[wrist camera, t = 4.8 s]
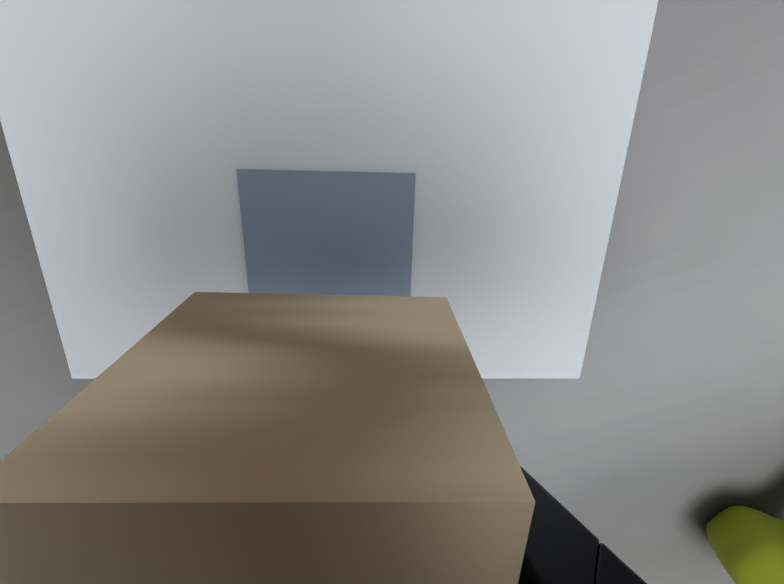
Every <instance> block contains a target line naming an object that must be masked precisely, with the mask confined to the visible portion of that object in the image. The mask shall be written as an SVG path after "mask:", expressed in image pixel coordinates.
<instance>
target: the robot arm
mask: <svg viewBox="0 0 784 584" xmlns="http://www.w3.org/2000/svg"><path fill="white" fill-rule="evenodd" d="M520 467H521V466H520ZM521 470H522V472H523V474H524V477H525V479H526V481H527V483H528V486H529V488H530V490H531V493H532V495H533V497H534V500H535V506H534V511H533V515H532V520H531V525H530V529H529V534H528V539H527V543H526V548H525V553H524V557H523V562H522V567H521V571H520V576H519V581H518V584H647V583H646V582H645V581H644V580H643V579H641V578H640V577H639V576H638V575H637V574H636V573H635V572H634V571H633V570H631V569H630V568H629V567H628V566H627V565H626V564H625V563H624V562H623V561H621V560H620V559H619V558H618V557H617V556H616V555H615V554H614V553H613V552H612V551H611V550H610V549H609V548H608V547H607V546H605V545H604V544H603V543H600V544H599V540H598V538H597V537H596V536H595V535H593V534H592V533H591V532H590V531H589V530H588V529H587V528H586V527H585V526H584V525H583V524H582V523H581V522H580V521H578V520H577V519H576V518H575V517H574V516H573V515H572V514H571V513H570V512H569V511H568V510H567V509H566V508H565V507H564V506H562V505H561V504H560V503H559V502H558V501H557V500H556V499H555V498H554V497H553V496H552V495H551V494H550V493H549V492H548V491H546V490H545V489H544V488H543V487H542V486H541V485H540V484H539V483H538V482H537V481H536V480H535V479H534V478H533V477H532V476H530V475H529V474H528V473H527V472H526V471H525V470H524V469H523V468H522V467H521Z"/></svg>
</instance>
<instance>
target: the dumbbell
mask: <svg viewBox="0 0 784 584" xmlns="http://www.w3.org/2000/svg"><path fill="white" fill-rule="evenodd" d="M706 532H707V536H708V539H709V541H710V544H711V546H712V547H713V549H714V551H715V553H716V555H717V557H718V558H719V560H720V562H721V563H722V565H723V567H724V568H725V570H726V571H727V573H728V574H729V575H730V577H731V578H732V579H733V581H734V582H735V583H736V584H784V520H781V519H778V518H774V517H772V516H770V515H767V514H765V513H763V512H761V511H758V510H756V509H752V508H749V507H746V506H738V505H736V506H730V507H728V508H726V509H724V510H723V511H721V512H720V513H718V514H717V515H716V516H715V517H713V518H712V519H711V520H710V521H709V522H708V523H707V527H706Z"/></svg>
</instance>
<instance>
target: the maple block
mask: <svg viewBox="0 0 784 584" xmlns="http://www.w3.org/2000/svg"><path fill="white" fill-rule="evenodd" d="M534 506H535V500H534V497H533V495H532V493H531V490H530V488H529V486H528V483H527V481H526V479H525V477H524V474H523V472H522V470H521V467H520V465H519V463H518V460H517V458H516V456H515V454H514V451H513V449H512V447H511V444H510V442H509V440H508V437H507V435H506V433H505V431H504V428H503V426H502V424H501V421H500V419H499V417H498V414H497V412H496V410H495V408H494V405H493V403H492V401H491V398H490V396H489V394H488V391H487V389H486V387H485V385H484V382H483V380H482V378H481V375H480V373H479V371H478V368H477V366H476V364H475V362H474V359H473V357H472V355H471V352H470V350H469V348H468V345H467V343H466V341H465V339H464V336H463V334H462V332H461V329H460V327H459V325H458V322H457V320H456V318H455V316H454V313H453V311H452V309H451V306H450V304H449V302H448V299H447V297H415V296H369V295H322V294H276V293H229V292H194V293H193V294H192V295H191V296H189V297H188V298H187V299H186V300H185V301H184V302H183V303H181V304H180V305H179V306H178V307H177V308H176V309H175V310H173V311H172V312H171V313H170V314H169V315H168V316H167V317H165V318H164V319H163V320H162V321H161V322H160V323H159V324H157V325H156V326H155V327H154V328H153V329H152V330H151V331H149V332H148V333H147V334H146V335H145V336H144V337H143V338H141V339H140V340H139V341H138V342H137V343H136V344H135V345H133V346H132V347H131V348H130V349H129V350H128V351H127V352H125V353H124V354H123V355H122V356H121V357H120V358H118V359H117V360H116V361H115V362H114V363H113V364H112V365H110V366H109V367H108V368H107V369H106V370H105V371H104V372H102V373H101V374H100V375H99V376H98V377H97V378H96V379H94V380H93V381H92V382H91V383H90V384H89V385H88V386H86V387H85V388H84V389H83V390H82V391H81V392H80V393H78V394H77V395H76V396H75V397H74V398H73V399H72V400H70V401H69V402H68V403H67V404H66V405H65V406H64V407H62V408H61V409H60V410H59V411H58V412H57V413H56V414H54V415H53V416H52V417H51V418H50V419H49V420H48V421H46V422H45V423H44V424H43V425H42V426H41V427H40V428H38V429H37V430H36V431H35V432H34V433H33V434H32V435H30V436H29V437H28V438H27V439H26V440H25V441H23V442H22V443H21V444H20V445H19V446H18V447H17V448H15V449H14V450H13V451H12V452H11V453H10V454H9V455H7V456H6V457H5V458H4V459H3V460H2V461H1V462H0V584H518V581H519V576H520V571H521V567H522V562H523V557H524V553H525V548H526V543H527V539H528V534H529V529H530V525H531V520H532V515H533V511H534Z"/></svg>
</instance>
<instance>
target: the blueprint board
mask: <svg viewBox="0 0 784 584" xmlns="http://www.w3.org/2000/svg"><path fill="white" fill-rule="evenodd" d="M657 5H658V0H0V121H1V125H2V128H3V132H4V135H5V139H6V143H7V146H8V150H9V153H10V157H11V161H12V164H13V168H14V171H15V175H16V179H17V182H18V186H19V189H20V193H21V197H22V200H23V204H24V207H25V211H26V215H27V218H28V222H29V225H30V229H31V233H32V236H33V240H34V243H35V247H36V251H37V254H38V258H39V261H40V265H41V269H42V272H43V276H44V279H45V283H46V287H47V290H48V294H49V297H50V301H51V305H52V308H53V312H54V315H55V319H56V323H57V326H58V330H59V333H60V337H61V341H62V344H63V348H64V351H65V355H66V359H67V362H68V366H69V369H70V373H71V377H72V379H96V378H97V377H98V376H99V375H100V374H101V373H102V372H104V371H105V370H106V369H107V368H108V367H109V366H110V365H112V364H113V363H114V362H115V361H116V360H117V359H118V358H120V357H121V356H122V355H123V354H124V353H125V352H127V351H128V350H129V349H130V348H131V347H132V346H133V345H135V344H136V343H137V342H138V341H139V340H140V339H141V338H143V337H144V336H145V335H146V334H147V333H148V332H149V331H151V330H152V329H153V328H154V327H155V326H156V325H157V324H159V323H160V322H161V321H162V320H163V319H164V318H165V317H167V316H168V315H169V314H170V313H171V312H172V311H173V310H175V309H176V308H177V307H178V306H179V305H180V304H181V303H183V302H184V301H185V300H186V299H187V298H188V297H189V296H191V295H192V294H193V293H194V292H229V293H276V294H322V295H369V296H415V297H447V299H448V302H449V304H450V306H451V309H452V311H453V313H454V316H455V318H456V320H457V322H458V325H459V327H460V329H461V332H462V334H463V336H464V339H465V341H466V343H467V345H468V348H469V350H470V352H471V355H472V357H473V359H474V362H475V364H476V366H477V368H478V371H479V373H480V375H481V378H580V374H581V369H582V364H583V360H584V355H585V350H586V345H587V340H588V336H589V331H590V326H591V321H592V316H593V312H594V307H595V302H596V297H597V292H598V288H599V283H600V278H601V273H602V268H603V264H604V259H605V254H606V249H607V244H608V240H609V235H610V230H611V225H612V221H613V216H614V211H615V206H616V201H617V197H618V192H619V187H620V182H621V177H622V173H623V168H624V163H625V158H626V153H627V149H628V144H629V139H630V134H631V129H632V125H633V120H634V115H635V110H636V105H637V101H638V96H639V91H640V86H641V82H642V77H643V72H644V67H645V62H646V58H647V53H648V48H649V43H650V38H651V34H652V29H653V24H654V19H655V14H656V10H657Z"/></svg>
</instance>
